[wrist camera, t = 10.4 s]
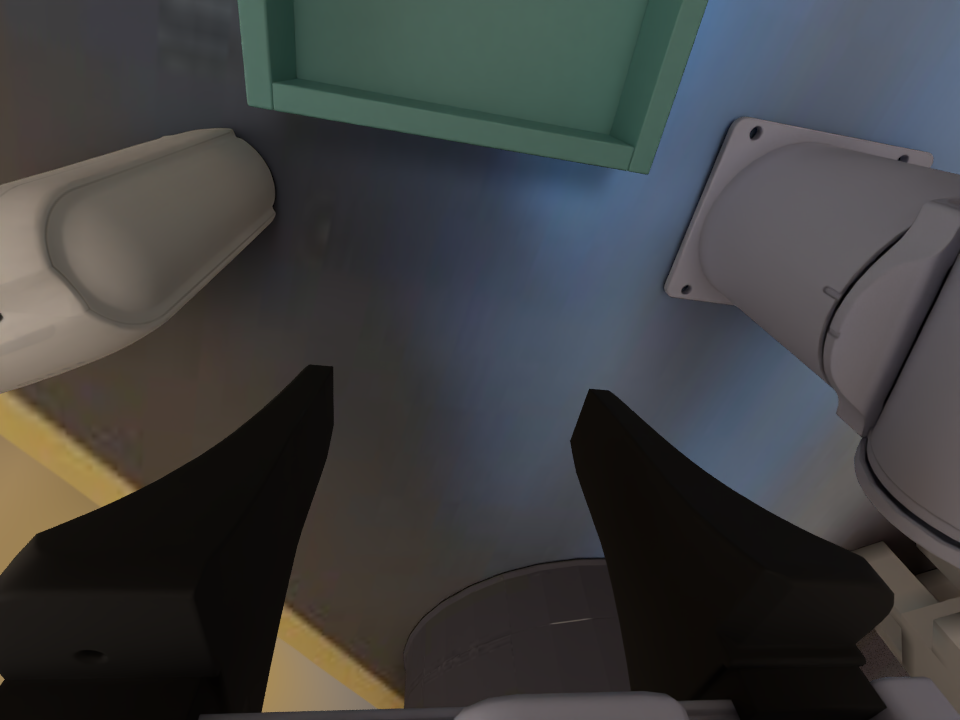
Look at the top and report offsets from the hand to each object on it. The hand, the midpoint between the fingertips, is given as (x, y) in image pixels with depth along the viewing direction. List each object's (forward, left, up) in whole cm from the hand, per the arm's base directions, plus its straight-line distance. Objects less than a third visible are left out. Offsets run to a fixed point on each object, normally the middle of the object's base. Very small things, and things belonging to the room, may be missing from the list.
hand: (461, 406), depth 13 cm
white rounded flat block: (+13, -1, -11) cm, 17 cm away
